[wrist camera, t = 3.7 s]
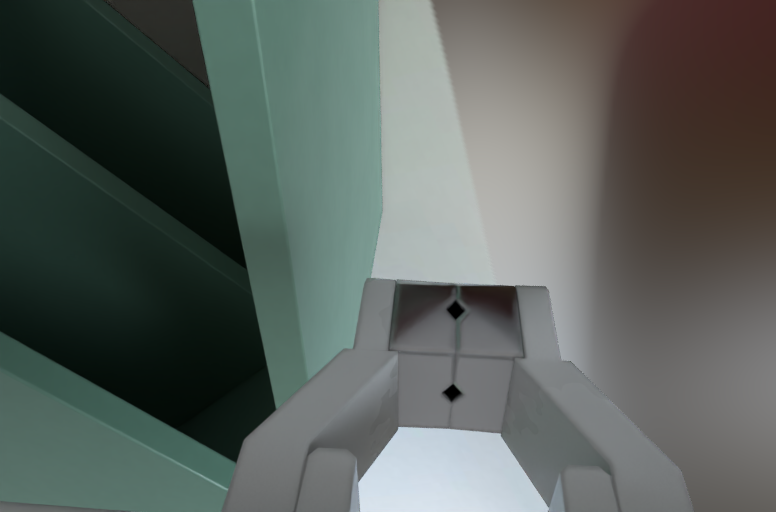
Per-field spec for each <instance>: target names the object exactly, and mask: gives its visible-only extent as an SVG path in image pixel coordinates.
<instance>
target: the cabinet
mask: <svg viewBox="0 0 776 512" xmlns="http://www.w3.org/2000/svg"><path fill="white" fill-rule="evenodd" d="M275 411H276V407H275V402H274V397H273V392H272V387H271V382H270V377H269V373H268V368H267V363H266V358H265V353H264V348H263V343H262V339H261V334H260V329H259V324H258V319H257V314H256V309H255V304H254V300H253V295H252V290H251V285H250V280H249V275H248V270H247V266H246V261H245V256H244V251H243V246H242V241H241V236H240V231H239V227H238V222H237V217H236V212H235V207H234V202H233V197H232V193H231V188H230V183H229V178H228V173H227V168H226V163H225V158H224V154H223V149H222V144H221V139H220V134H219V129H218V124H217V119H216V115H215V110H214V105H213V100H212V95H211V90H210V89H209V88H208V87H206V86H205V85H204V84H203V83H202V82H200V81H199V80H198V79H197V78H196V77H194V76H193V75H192V74H191V73H190V72H188V71H187V70H186V69H185V68H184V67H182V66H181V65H180V64H179V63H178V62H176V61H175V60H174V59H173V58H172V57H171V56H169V55H168V54H167V53H166V52H165V51H163V50H162V49H161V48H160V47H159V46H157V45H156V44H155V43H154V42H153V41H151V40H150V39H149V38H148V37H147V36H145V35H144V34H143V33H142V32H141V31H139V30H138V29H137V28H136V27H135V26H133V25H132V24H131V23H130V22H129V21H127V20H126V19H125V18H124V17H123V16H121V15H120V14H119V13H118V12H117V11H115V10H114V9H113V8H112V7H111V6H109V5H108V4H107V3H106V2H105V1H103V0H0V501H6V502H19V503H31V504H44V505H57V506H70V507H83V508H96V509H109V510H122V511H135V512H221V511H222V508H223V505H224V501H225V498H226V495H227V492H228V489H229V485H230V482H231V479H232V476H233V473H234V470H235V466H236V463H237V460H238V457H239V454H240V451H241V447H242V444H243V441H244V439H245V438H246V437H247V436H248V435H249V434H251V433H252V432H253V431H254V430H255V429H256V428H257V427H258V426H259V425H260V424H261V423H263V422H264V421H265V420H266V419H267V418H268V417H269V416H270V415H271V414H272V413H274V412H275Z"/></svg>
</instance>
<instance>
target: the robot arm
mask: <svg viewBox="0 0 776 512" xmlns="http://www.w3.org/2000/svg"><path fill="white" fill-rule="evenodd" d="M398 427H419V428H445V429H458V430H469V431H480V432H491V433H501V437H502V438H503V440H504V441H505V443H506V444H507V446H508V447H509V449H510V450H511V452H512V453H513V455H514V456H515V458H516V459H517V461H518V462H519V464H520V465H521V467H522V468H523V470H524V471H525V473H526V474H527V476H528V477H529V479H530V480H531V482H532V483H533V485H534V486H535V488H536V489H537V491H538V492H539V494H540V495H541V497H542V498H543V500H544V501H545V503H546V504H547V506H548V507H549V511H548V512H694V509H693V506H692V503H691V500H690V497H689V494H688V490H687V487H686V484H685V481H684V478H683V474H682V471H681V470H680V469H679V468H678V467H677V466H676V465H675V464H674V463H673V462H672V461H671V460H670V459H669V458H668V457H667V456H666V455H665V454H664V453H663V452H662V451H661V450H660V449H659V448H658V447H657V446H656V445H655V444H654V443H653V442H652V441H651V440H650V439H649V438H648V437H647V436H646V435H645V434H644V433H643V432H642V431H641V430H640V429H639V428H638V427H637V426H636V425H635V424H634V423H633V422H632V421H631V420H630V419H629V418H628V417H627V416H626V415H625V414H624V413H623V412H622V411H621V410H619V408H617V406H616V405H615V404H614V403H612V401H611V400H609V399H608V398H607V397H606V396H605V395H604V394H603V393H602V392H601V391H600V390H599V389H598V388H597V387H596V386H595V385H594V384H593V383H592V382H591V381H590V380H589V379H588V378H587V377H586V376H585V375H584V374H583V373H582V372H581V371H580V370H579V369H578V368H577V367H576V366H575V365H574V364H573V363H572V362H571V361H561V356H560V351H559V345H558V339H557V334H556V328H555V323H554V317H553V312H552V307H551V301H550V296H549V291H548V289H547V288H546V287H545V286H515V287H514V286H503V285H479V284H454V283H440V282H426V281H412V280H398V279H397V281H396V280H390V279H376V278H367V279H366V281H365V283H364V287H363V293H362V298H361V304H360V310H359V316H358V322H357V327H356V333H355V339H354V345H353V349H348V348H344V349H343V350H342V351H341V352H339V353H338V354H337V355H336V356H335V357H334V358H333V359H332V360H331V361H330V362H328V363H327V364H326V365H325V366H324V367H323V368H322V369H321V370H320V371H319V372H317V373H316V374H315V375H314V376H313V377H312V378H311V379H310V380H309V381H308V382H306V383H305V384H304V385H303V386H302V387H301V388H300V389H299V390H298V391H297V392H296V393H294V394H293V395H292V396H291V397H290V398H289V399H288V400H287V401H286V402H285V403H283V404H282V405H281V406H280V407H279V408H278V409H277V410H276V411H275V412H274V413H272V414H271V415H270V416H269V417H268V418H267V419H266V420H265V421H264V422H263V423H261V424H260V425H259V426H258V427H257V428H256V429H255V430H254V431H253V432H252V433H251V434H249V435H248V436H247V437H246V438H245V439H244V441H243V444H242V447H241V451H240V454H239V457H238V460H237V463H236V466H235V470H234V473H233V476H232V479H231V482H230V485H229V489H228V492H227V495H226V498H225V501H224V505H223V508H222V511H221V512H360V504H359V489H358V482H359V481H360V479H361V478H362V477H363V475H364V474H365V473H366V471H367V470H368V469H369V467H370V466H371V465H372V463H373V462H374V461H375V459H376V458H377V457H378V455H379V454H380V453H381V452H382V450H383V449H384V448H385V446H386V445H387V444H388V442H389V441H390V440H391V438H392V437H393V436H394V434H395V433H396V432H397V430H398ZM0 512H135V511H122V510H109V509H96V508H83V507H70V506H57V505H44V504H31V503H19V502H6V501H0Z"/></svg>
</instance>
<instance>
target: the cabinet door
mask: <svg viewBox="0 0 776 512" xmlns="http://www.w3.org/2000/svg"><path fill="white" fill-rule="evenodd" d="M192 3H193V8H194V12H195V17H196V22H197V27H198V32H199V37H200V42H201V46H202V51H203V56H204V61H205V66H206V71H207V76H208V81H209V85H210V90H211V95H212V100H213V105H214V110H215V115H216V119H217V124H218V129H219V134H220V139H221V144H222V149H223V154H224V158H225V163H226V168H227V173H228V178H229V183H230V188H231V193H232V197H233V202H234V207H235V212H236V217H237V222H238V227H239V231H240V236H241V241H242V246H243V251H244V256H245V261H246V266H247V270H248V275H249V280H250V285H251V290H252V295H253V300H254V304H255V309H256V314H257V319H258V324H259V329H260V334H261V339H262V343H263V348H264V353H265V358H266V363H267V368H268V373H269V377H270V382H271V387H272V392H273V397H274V402H275V407H276V410H277V409H278V408H279V407H280V406H281V405H282V404H283V403H285V402H286V401H287V400H288V399H289V398H290V397H291V396H292V395H293V394H294V393H296V392H297V391H298V390H299V389H300V388H301V387H302V386H303V385H304V384H305V383H306V382H308V381H309V380H310V379H311V378H312V377H313V376H314V375H315V374H316V373H317V372H319V371H320V370H321V369H322V368H323V367H324V366H325V365H326V364H327V363H328V362H330V361H331V360H332V359H333V358H334V357H335V356H336V355H337V354H338V353H339V352H341V351H342V350H343V349H344V348H348V349H353V345H354V339H355V333H356V327H357V322H358V316H359V310H360V304H361V298H362V293H363V287H364V283H365V281H366V279H367V278H371V273H372V267H373V261H374V256H375V250H376V245H377V239H378V233H379V228H380V222H381V216H382V166H381V116H380V66H379V16H378V0H192Z"/></svg>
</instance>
